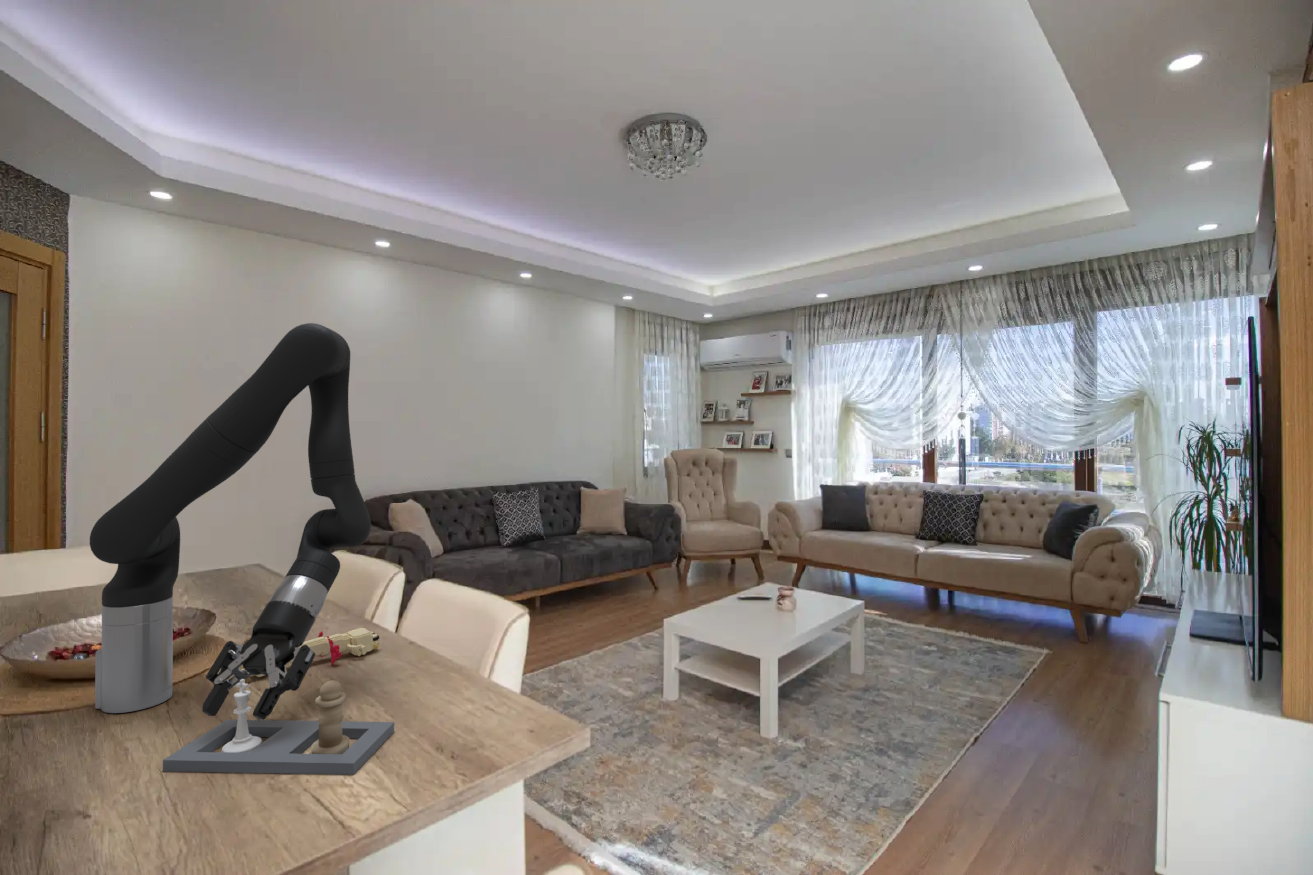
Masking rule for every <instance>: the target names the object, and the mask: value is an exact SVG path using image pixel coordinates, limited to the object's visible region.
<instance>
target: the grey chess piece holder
mask: <svg viewBox="0 0 1313 875" xmlns="http://www.w3.org/2000/svg"><path fill="white" fill-rule="evenodd" d="M237 722H238V719H225V720H224V721H222V722H221V723H219V724H218V725H216V726H214V727H213V728H211V729H210V730H208V731H206V732H205V733H203V734H202V735H200V736H199V737H198V738H196V739H194V740H192V741H190V742H189V743H188V744H186V745H184V746H182V747H181V748H180V749H178V750H177V751H175V752H173V753H171V754H170V755H169V756H167V757H165V758H163V760H162V772H177V773H178V772H179V773H180V772H181V773H185V772H186V773H187V772H188V773H189V772H190V773H191V772H192V773H235V774H237V773H240V774H241V773H242V774H243V773H244V774H289V775H290V774H293V775H294V774H296V775H297V774H298V775H299V774H300V775H301V774H302V775H305V774H306V775H348V776H349V775H355V774H356V773H357V772H359V769H360V768H361V767H362V766H363V765H364V764H366V763H367V761H368V760H369V759H370V758H371V757H372V756H373V755H374V754H375V753H376V752H377V751H378V750H379V748H381V747H382V745H383V744H384V743H385V742H386V741H387V740H388V739H389V738H390V737H391V736H393V734H394V733H395V721H348V720H345V721H344V720H342V735H345V736H348V737H349V739H355V740H356V739H357V740H356V741H355V742H354V743H352V745H351V746H349V749H348V750H347V751H345V752H344V753H343V754H311V753H304V752H305V751H306V750H308V748H310V747H311V746H312V744H313V743H314V742H315V741H317V740H319V720H291V719H290V720H288V719H287V720H286V719H285V720H283V719H280V720H279V719H275V720H274V719H265V720H259V719H247V724H248V731H249V734H251V735H252V736H257V737H260V738H267V739H266V740H265V741H263V742H262V744H260V745H259V746H258V747H256V748H255V749H254V750H252V751H251V752H250V753H227V752H222V751H220V752H218V751H217V752H216V750H217V749H218V748H220V747H221V746H224V745H225V743H226V744H227V743H228V742H230V741H231V739H233V738H234V737H235V735H236V729H237Z"/></svg>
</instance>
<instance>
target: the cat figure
mask: <svg viewBox="0 0 1313 875" xmlns="http://www.w3.org/2000/svg"><path fill="white" fill-rule="evenodd" d="M323 635H324V632H323V631H320V632H318V636H317V637H315V638H312V639H309V640H305V641H304V643H303V644H302V645H301V646H300V648H301V647H302V646H303V645H307V646H308V647H310V648H311V649H312V650H313V652H314V653H315V657H317V656H320V657H321V656H322V657H324V656H326V655H329V654H330V657H331V660H330V664H331V665H330V666H334V664H336V662H337V660H338V659H339V658H342V652H345V651H348V652H349V653H351V654H352V655H354V656H358V657H361V656H362V655H363V656H365V655H366V654H367V653H368V652H371V651H372V650H375V649H378V648H379V645H380V644H382V643H383V642H382V640H381V641H379V640H380V635H378V634H377V633H375V632H373V631H369V630H368V629H366V628H364V627H358V628H355V629H353V630H349V631H347V632H344V633H335V634H333V635H328V636H323ZM250 638H251V637H247V638H246V639H245V640H244V642H242V645H244V644H245V643H246V642H247V641H248V640H249V639H250ZM376 642H377V643H376ZM241 655H242V654H241ZM241 655H240V656H241ZM293 661H294V659H292V660H291V661H290V662H288V663H287V664H286V667H290V665H291V664H292V662H293ZM239 669H240V670H245V669H244V668H243V665H241V666H240V667H239ZM255 676H256V677H257V678H261V677H265V676H266V675H263V674H259V675H250V676H249V677H248V678H247V679H245V684H249V683H250V681H251V679H250V677H255Z"/></svg>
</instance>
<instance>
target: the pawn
mask: <svg viewBox="0 0 1313 875" xmlns="http://www.w3.org/2000/svg"><path fill="white" fill-rule="evenodd" d="M342 687H343V686H342V685H341V683H340V682H338V681H336V680H328V681H326V682H324V684H322V685H321V687H320V690H319V695H318V696H317V697H316V698H315V706H316V707H318V721H319V739H318V740H317V741H315V742H314V743H313V744H312V745H311V746H310V747H311V753H310V754H343V753H344V752H345V751H347V750H348V749H349V748H350V738H349V737H348V736H345V735H342V721H343V703H344V702H345V701H346V692H344V691H343V692H342V690H343V689H342Z"/></svg>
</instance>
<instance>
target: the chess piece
mask: <svg viewBox="0 0 1313 875" xmlns="http://www.w3.org/2000/svg"><path fill="white" fill-rule="evenodd" d="M249 686H250V685H249V683H247V684H245V679H241V680H240V681H239V682H238V683H237V684H236V685H235V687H236V688H239V691H237V692H235V693H234V694H233V698H234V700H235V703H236V706H237V707H235V709H233V714H234V715H237V720H238V722H237V729H236V735H235V737H233V738H232V740H229V741H227V742H226V744H225V743H224V744H223V745H222V746H223V747H222V749H221V752H227V753H250V752H251V751H252V750H254V749H255V748H256V747H258V746H259V745H260V744H262V743H263V742H262V741H263V740H262V737H257V736H252V735H251V734H249V731H248V724H247V720H248V719H247V713H248V712H250V711H251V710H252V707H251V706H249V705H247V704H248V702H249V698H250V696H251V694H252V693H251V691H250V690H246V689H247V688H249Z"/></svg>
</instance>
